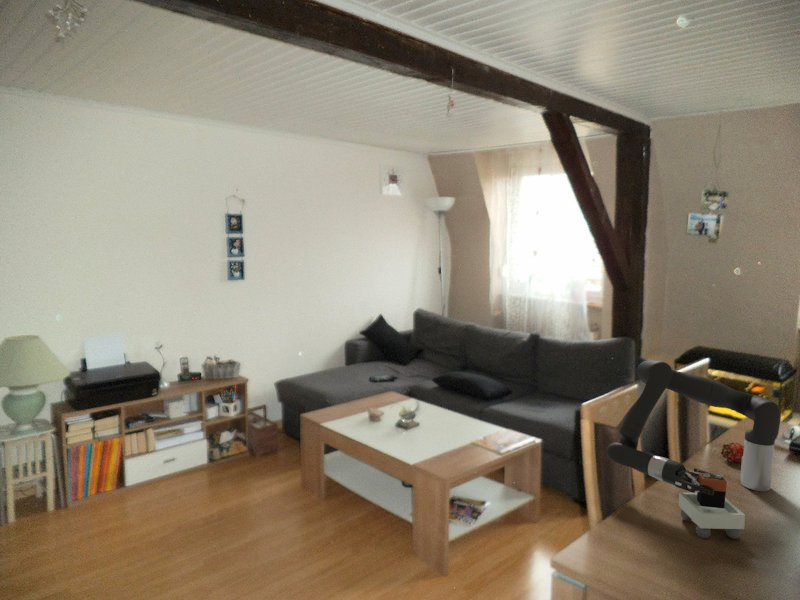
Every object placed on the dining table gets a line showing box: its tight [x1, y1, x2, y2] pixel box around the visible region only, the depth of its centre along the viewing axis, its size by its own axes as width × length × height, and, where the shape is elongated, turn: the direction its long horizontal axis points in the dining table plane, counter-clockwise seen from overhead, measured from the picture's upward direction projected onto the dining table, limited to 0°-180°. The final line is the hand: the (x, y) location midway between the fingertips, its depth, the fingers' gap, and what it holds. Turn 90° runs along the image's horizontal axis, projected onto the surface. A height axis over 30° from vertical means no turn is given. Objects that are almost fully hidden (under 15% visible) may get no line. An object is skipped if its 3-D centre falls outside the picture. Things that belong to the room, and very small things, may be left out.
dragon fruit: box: [720, 442, 744, 464], centre depth 226 cm, size 8×8×12 cm
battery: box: [696, 472, 728, 508], centre depth 173 cm, size 4×7×10 cm, turn 78°
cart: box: [678, 492, 746, 540], centre depth 174 cm, size 14×13×8 cm
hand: (719, 488), depth 171 cm, fingers closed on battery, 7 cm apart
